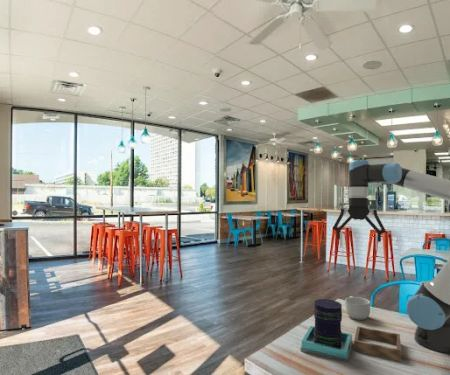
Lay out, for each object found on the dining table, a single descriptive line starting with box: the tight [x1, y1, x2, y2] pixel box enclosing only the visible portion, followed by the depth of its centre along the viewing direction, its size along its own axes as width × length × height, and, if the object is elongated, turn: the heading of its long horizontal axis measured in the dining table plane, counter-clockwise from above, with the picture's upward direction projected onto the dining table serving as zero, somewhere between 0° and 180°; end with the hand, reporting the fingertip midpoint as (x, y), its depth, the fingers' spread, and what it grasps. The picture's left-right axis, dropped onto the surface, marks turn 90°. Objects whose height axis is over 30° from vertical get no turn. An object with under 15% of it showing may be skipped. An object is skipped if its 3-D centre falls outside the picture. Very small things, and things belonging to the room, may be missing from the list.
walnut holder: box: [353, 325, 402, 362], centre depth 117 cm, size 15×15×4 cm
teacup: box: [344, 295, 371, 321], centre depth 148 cm, size 14×11×8 cm
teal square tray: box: [300, 325, 354, 363], centre depth 116 cm, size 16×16×4 cm
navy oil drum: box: [313, 298, 343, 348], centre depth 117 cm, size 10×10×15 cm
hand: (358, 248), depth 131 cm, fingers open, 13 cm apart
